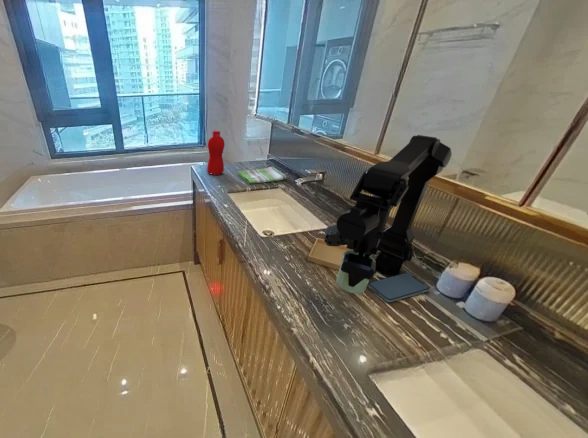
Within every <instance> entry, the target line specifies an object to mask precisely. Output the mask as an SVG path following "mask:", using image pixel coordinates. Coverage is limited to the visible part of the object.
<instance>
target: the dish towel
mask: <svg viewBox="0 0 588 438" xmlns="http://www.w3.org/2000/svg"><path fill="white" fill-rule="evenodd" d="M237 174H238V175H239V177H241V178H242V179H243V180H244V182H246V183H247V184H248V185H251V184H253V185H254V184H262V183H273V182H279V181H285V180H287V176H286V174H284V173H283V172H281V171H280V170H278V169H277V168H275V166H269V167H264V168H257V169H246V170H239V171H238V173H237Z"/></svg>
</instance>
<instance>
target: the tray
mask: <svg viewBox="0 0 588 438" xmlns="http://www.w3.org/2000/svg"><path fill="white" fill-rule="evenodd" d="M324 240H325V239H323V238H320V237H317V238H316V239H315V242H314V243H313V245H312V247H311V249H310V252H309V254H308V256H307V261H308V262H311V263H314V264H316V265H321V266H324V267H327V268H329V269H333V270H337V271H339V268H340V265H341V261H342V258H343V254H344V253H345V252H346V251H350V250H351V249H348V248H347V245H340V246H328V245H327V244H326V242H324ZM352 250H353V249H352Z"/></svg>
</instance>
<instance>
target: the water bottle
mask: <svg viewBox="0 0 588 438" xmlns="http://www.w3.org/2000/svg"><path fill="white" fill-rule="evenodd" d="M211 135H212V136H211V137H210V138H209V139H208V141H207V146H206V147H207V150H208V154H209V155H208V157H209V158H208V162H207V166H206V167H207V169H206V172H207V174H208V175H213V176H220V175H221V176H222V174H223V173H224V172H225V171H224V170H225V169H224V168H225V164H224V159H223V153H224V149H225V140H224V137H222V136H221V131H219V130H212V134H211ZM222 172H223V173H222ZM210 173H212V174H210ZM220 173H221V174H220Z"/></svg>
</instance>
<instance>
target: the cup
mask: <svg viewBox="0 0 588 438" xmlns="http://www.w3.org/2000/svg"><path fill="white" fill-rule="evenodd" d="M349 253H352V254H356V255H358V253H359V252H357V253H355V252H353V250H350V251H346V252H345V253H344V254H343V258H342V261H341V265H340V268H339V270H338V272H337V276H336V278H335V281H336V284H337V286H338V287H339V288H340V289H342V290H344V291H345V292H347V293H351V294H362V293H364V292H365V291H366V290H367V288H368V285H369V283H370V280H368V279H364V280H362V281H361V282H360V283H358V284H357V285H356V286H354V287H351V286H349V285H348V273H345V272H343V271H342V270H341V266H342V263H343V259H344V256H345V255H346V254H349ZM364 255H365V254H364ZM363 257H364V256H363ZM369 258H370V259H373V261H374V262H375V259H374V257H372V255H371V256H370V257H369Z"/></svg>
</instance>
